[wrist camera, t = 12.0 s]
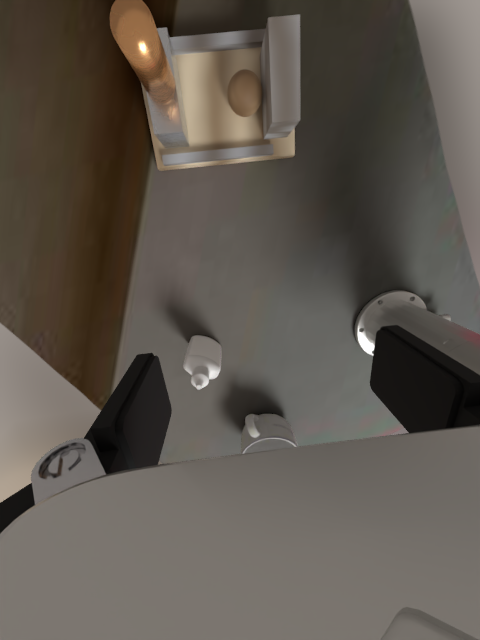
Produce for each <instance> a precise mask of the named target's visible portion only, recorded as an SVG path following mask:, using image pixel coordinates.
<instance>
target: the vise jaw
mask: <svg viewBox="0 0 480 640" xmlns="http://www.w3.org/2000/svg"><path fill="white" fill-rule="evenodd" d="M110 27H111V31H112V34H113V36H114V38H115V40H116V42H117V43H118V45H119V47H120V48H121V50H122V52H123V53H124V55H125V57H126V58H127V60H128V62H129V63H130V65H131V66H132V68H133V70H134V71H135V73H136V75H137V76H138V78H139V80H140V81H141V83H142V85H143V86H144V88H145V90H146V94H147V99H148V104H149V110H150V115H151V120H152V125H153V131H154V135H155V136H156V137H157V139H158V140H159V141H160V142H161V143H162V145H163V146H164V147H165V148H166V149H168V148H178V147H188V146H190V145H189V138H188V132H187V125H186V118H185V111H184V105H183V98H182V91H181V84H180V77H179V71H178V64H177V60H176V57H175V53H174V50H173V46H172V43H171V40H170V36H169V33H168V30H167V27H166V28H156V25H155V22H154V20H153V17H152V14H151V12H150V10H149V8H148V7H147V5H146V4H145V3H144V2H143V1H142V0H116V1H115V2H114V4H113V5H112V8H111V11H110Z"/></svg>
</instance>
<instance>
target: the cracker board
mask: <svg viewBox="0 0 480 640" xmlns="http://www.w3.org/2000/svg"><path fill="white" fill-rule="evenodd" d="M170 40H171V43H172V46H173V50H174V53H175V57H176V60H177V64H178V71H179V77H180V84H181V91H182V98H183V105H184V111H185V118H186V125H187V132H188V138H189V145H190V146H188V147H178V148H168V149H166V148H165V147H164V146H163V145H162V143H161V142H160V141H159V140H158V139H157V137H156V136H155V135H154V131H153V125H152V120H151V115H150V110H149V104H148V99H147V94H146V90H145V88H144V86H143V85H142V83H141V85H142V90H143V95H144V100H145V106H146V111H147V116H148V121H149V126H150V131H151V136H152V142H153V147H154V152H155V157H156V162H157V167H158V169H159V170H160V171H164V170H173V169H183V168H193V167H203V166H213V165H223V164H232V163H242V162H252V161H262V160H272V159H282V158H291V157H293V156H294V155H295V126H296V125H297V124H298V122H299V121H300V15H289V16H278V17H268V20H267V25H266V29H256V30H245V31H234V32H224V33H213V34H202V35H191V36H180V37H170ZM243 69H247V70H250V71H252V72H254V73H255V74H256V75H257V76H258V78H259V80H260V82H261V85H262V101H261V104H260V106H259V108H258V109H257V111H256V112H255V113H254V114H252V115H251V116H248V117H241V116H239V115H237V114H236V113H235V112H234V111H233V110H232V109H231V107H230V105H229V102H228V97H227V90H228V85H229V82H230V80H231V78H232V77H233V75H234V74H235V73H236V72H238V71H240V70H243Z"/></svg>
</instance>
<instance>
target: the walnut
mask: <svg viewBox="0 0 480 640" xmlns="http://www.w3.org/2000/svg"><path fill="white" fill-rule="evenodd" d="M227 97H228V102H229V105H230V107H231V109H232V110H233V111H234V112H235V113H236V114H237V115H239V116H241V117H248V116H251V115H252V114H254V113H255V112H256V111H257V109H258V108H259V106H260V104H261V101H262V85H261V82H260V80H259V78H258V76H257V75H256V74H255V73H254V72H252V71H250V70H247V69H243V70H240V71H238V72H236V73H235V74H234V75H233V77H232V78H231V80H230V82H229V85H228V90H227Z"/></svg>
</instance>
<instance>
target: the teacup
mask: <svg viewBox="0 0 480 640" xmlns="http://www.w3.org/2000/svg"><path fill="white" fill-rule="evenodd" d="M245 424H246V425H245V426H244V428H243V431H242V438H241V454H244V453H252V452H259V451H267V450H275V449H283V448H291V447H298V445H297V442H296V438H295V435H294V432H293V429H292V427H291V426H290V424H289V423H288V422H287V421H286V420H285V419H284V418H282V417H281V416H278V415H275V414H261V415H255V414H249V415H248V416H246V418H245Z"/></svg>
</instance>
